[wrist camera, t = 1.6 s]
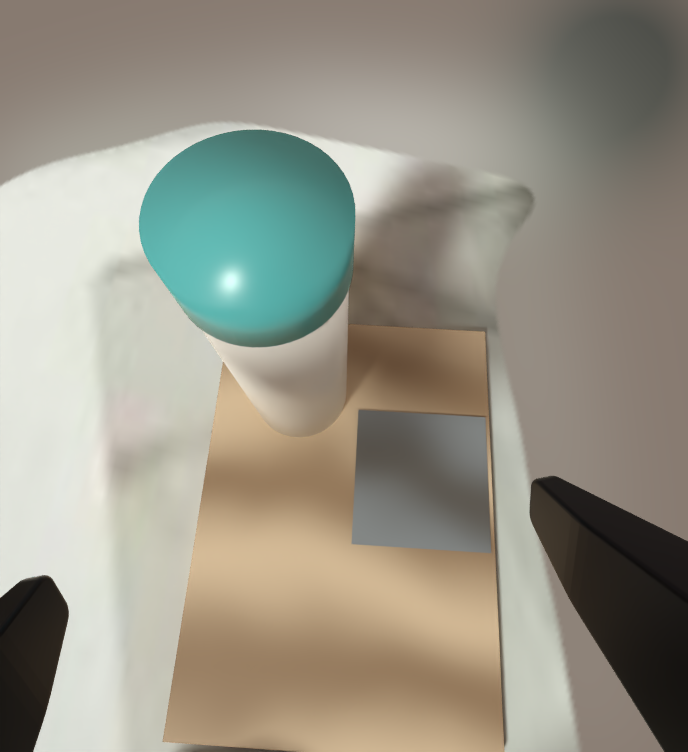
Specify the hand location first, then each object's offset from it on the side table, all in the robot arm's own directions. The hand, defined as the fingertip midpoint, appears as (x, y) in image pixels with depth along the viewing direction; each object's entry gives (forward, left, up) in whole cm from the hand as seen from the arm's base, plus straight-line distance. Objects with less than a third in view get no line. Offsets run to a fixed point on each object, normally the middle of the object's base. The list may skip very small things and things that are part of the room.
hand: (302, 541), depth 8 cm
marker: (+5, +4, -12) cm, 14 cm away
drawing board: (+2, 0, -13) cm, 13 cm away
